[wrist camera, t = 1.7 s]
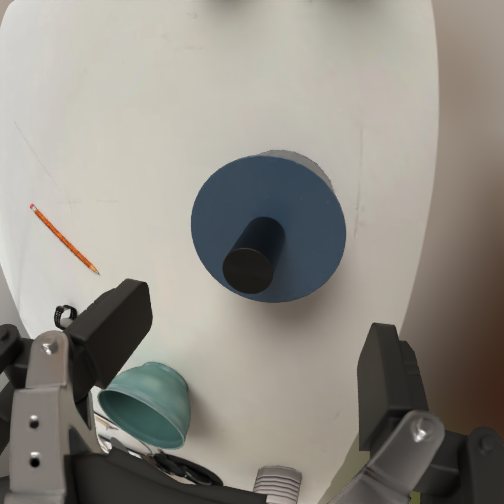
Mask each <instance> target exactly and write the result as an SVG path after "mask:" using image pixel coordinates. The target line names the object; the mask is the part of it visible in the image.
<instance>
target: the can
mask: <svg viewBox="0 0 504 504" xmlns="http://www.w3.org/2000/svg"><path fill="white" fill-rule="evenodd" d="M301 479H302V475H301V473H300V472H298V471H296V470H295V469H293V468H287V467H282V466H265V467H263V468H261V469H259V470H258V473H257V477H256V481H255V485H254V488H253V492H256V493H261V494H267V495H268V496H267V500H266V502H267V503H269V504H297V501H298V495H299V490H300V484H301Z"/></svg>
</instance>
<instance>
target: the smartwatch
mask: <svg viewBox="0 0 504 504" xmlns="http://www.w3.org/2000/svg"><path fill="white" fill-rule="evenodd" d="M69 308H70V309H71V314H70V317H69V318H63V319H60V318H61V314H62V313H63V312H64V311H65V310H68V309H69ZM72 310H73V311H72ZM57 311H58V312H57ZM74 311H75V312H74ZM59 312H61V313H59ZM72 312H73V313H72ZM56 313H58V314H57V315H56ZM59 314H60V315H59ZM58 315H59V316H58ZM56 316H57V317H56ZM72 316H73V317H72ZM58 317H59V318H58ZM56 318H57V319H56ZM76 318H77V312H76V309H75V308H73V307H71V306H69V305H64V306H58V307H57V308H56V311H55V315H54V322H55V325H56V327H58V328H60V329H61V330H65V329H66V328H67V327H68V326H69V325H70V324H71V323H72V322H73V321H74V320H75V319H76ZM58 319H59V320H58ZM56 320H57V321H56Z"/></svg>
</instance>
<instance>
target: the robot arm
mask: <svg viewBox="0 0 504 504" xmlns="http://www.w3.org/2000/svg"><path fill="white" fill-rule="evenodd" d="M152 320H153V315H152V309H151V302H150V294H149V287H148V285H147V283H146V282H142V281H138V280H133V279H129V278H128V279H125V280H124V281H123V282H122V283H121V284H120V285H119V286H118V287H117V288H116V289H115V288H113V289H111V290H109V291H107V292H105V293H103V294H102V295H101V296H99V297H98V298H97V299H96V300H95V301H94V303H92V304H91V305H90V306H89V307H88V308H87V310H84V311H83V312H82V313H81V314H80V315H79V316H78V317H77V318H76V319H75V320H74V321H73V322H72V323H71V324H70V325H69V326H68V327H67V328H66V329H65V330H64V331H63V332H61V331H55V330H54V331H47V332H44V333H42V334H41V335H39V336H38V337H37V338H36V339H35V340H34V339H26V338H21V336H20V334H19V331H18V329H17V327H16V326H14V325H12V324H4V325H1V326H0V374H1V373H2V372H3V371H4V373H5V374H6V376H7V378H8V379H9V382H8V384H7V385H6V386H5V387H4V389H3V390H2V391H1V392H0V455H1V453H2V452H3V450H4V449H5V447H6V446H7V444H8V443H9V441H10V454H9V457H10V458H9V459H10V460H9V467H10V468H9V469H10V475H9V476H5V477H1V478H0V504H269V503H267V502H266V500H267V496H268V495H267V494H261V493H256V492H251V491H246V490H241V489H236V488H232V487H227V486H209V485H194V484H184V483H180V482H178V481H176V480H175V479H173V478H171V477H170V476H168V475H167V474H165V473H164V472H162V471H160V470H159V469H157V468H156V467H154V466H153V465H152V464H150V463H149V462H147V461H145V460H143V459H140V458H138V457H136V456H133V455H131V454H129V453H126V452H124V451H122V450H120V449H117V448H115V447H112V449H111V451H110V452H109V454H106V453H103V452H102V449H101V446H100V444H99V442H98V439H97V434H96V427H95V419H94V411H93V401H92V393H91V391H90V390H91V388H92V387H93V386H97V387H99V388H101V389H103V390H106V389H107V387H108V386H109V384H110V383H111V382H112V380H113V379H114V378H115V376H116V375H117V373H118V372H119V371H120V369H121V368H122V367H123V365H124V364H125V363H126V361H127V360H128V359H129V357H130V356H131V355H132V353H133V352H134V351H135V349H136V348H137V347H138V345H139V344H140V343H141V341H142V340H143V339H144V337H145V336H146V335H147V333H148V332H149V330H150V328H151V325H152ZM357 380H358V403H359V451H370V460H369V461H368V462H367V463H366V464H365V466H364V467H363V468H362V469H361V470H360V471H359V472H358V473H357V474H356V475H355V477H354V478H353V479H352V480H351V481H350V482H349V483H348V484H347V485H346V486H345V487H344V488H343V489H342V490H341V491H340V492H339V493H338V494H337V495H336V496H335V497H334V498H332V499H331V500H330V501H329V502H328V503H327V504H409V502H410V500H411V497H409V495H410V493H411V492H412V491H416V492H420V494H421V495H420V504H504V446H503V443H502V439H501V437H500V436H499V434H498V433H497V432H496V431H494V430H493V429H491V428H489V427H484V426H482V427H478V428H476V429H474V430H473V431H472V432H471V433H470V434H469V435H468V436H466V435H462V434H458V433H454V432H450V431H447V430H445V429H444V426H443V423H442V422H441V420H440V419H439V418H438V417H437V416H436V415H435V414H433V413H431V412H429V409H428V404H427V400H426V395H425V392H424V387H423V383H422V379H421V376H420V371H419V367H418V366H417V360H416V356H415V352H414V351H413V350H412V348H411V347H410V346H409V344H408V343H407V342H406V341H400V340H399V338H398V334H397V330H396V327H395V325H390V324H382V323H373V324H372V325H371V328H370V330H369V333H368V336H367V338H366V341H365V344H364V346H363V349H362V351H361V354H360V357H359V361H358V367H357Z"/></svg>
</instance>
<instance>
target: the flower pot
mask: <svg viewBox="0 0 504 504" xmlns="http://www.w3.org/2000/svg"><path fill="white" fill-rule="evenodd" d="M187 391H188V388H187V385H186V383H185V381H184V380H183V378H182V377H181V376H180V375H179V374H178V373H177V372H175V371H174V370H172V369H171V368H169V367H167V366H165V365H163V364H160V363H156V362H148V363H145V364H144V365H142V366H140V367H135V368H132V369H129V370H126V371H124V372H122V373H121V374H119V375H117V376H116V377H115V378H114V379H113V380H112V382H111V383H110V384H109V386H108V387H107V389H106V390H103V389H101V391H100V392H99V393H98V396H97V398H98V402H99V405H100V407H101V408H102V410H103V411H104V413H105V414H106V415H107V416H108V417H109V419H110V420H112V421H113V422H114V423H115V424H116V425H117V426H118V427H119V428H121V429H122V430H123V431H125V432H126V433H128V434H129V435H131V436H133V437H134V438H136V439H138V440H140V441H142V442H144V443H146V444H149V445H151V446H154V447H157V448H162V449H169V450H174V449H179V448H181V447H182V446H183V445H184V442H185V439H186V434H187V431H188V428H189V424H190V416H191V411H190V403H189V399H188V396H187Z"/></svg>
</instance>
